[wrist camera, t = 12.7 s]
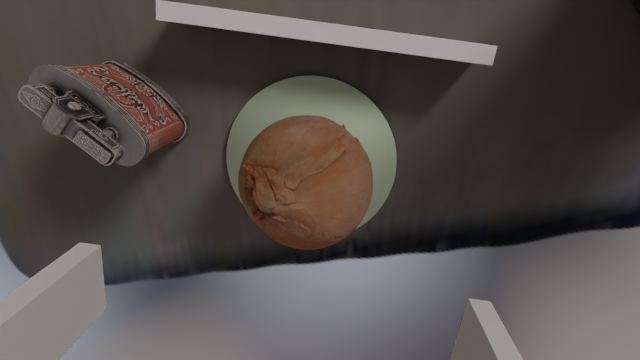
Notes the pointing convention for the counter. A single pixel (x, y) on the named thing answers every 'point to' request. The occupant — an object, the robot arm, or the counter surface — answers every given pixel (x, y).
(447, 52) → the low wall
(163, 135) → the lighter
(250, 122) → the pad
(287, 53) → the counter surface
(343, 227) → the onion
